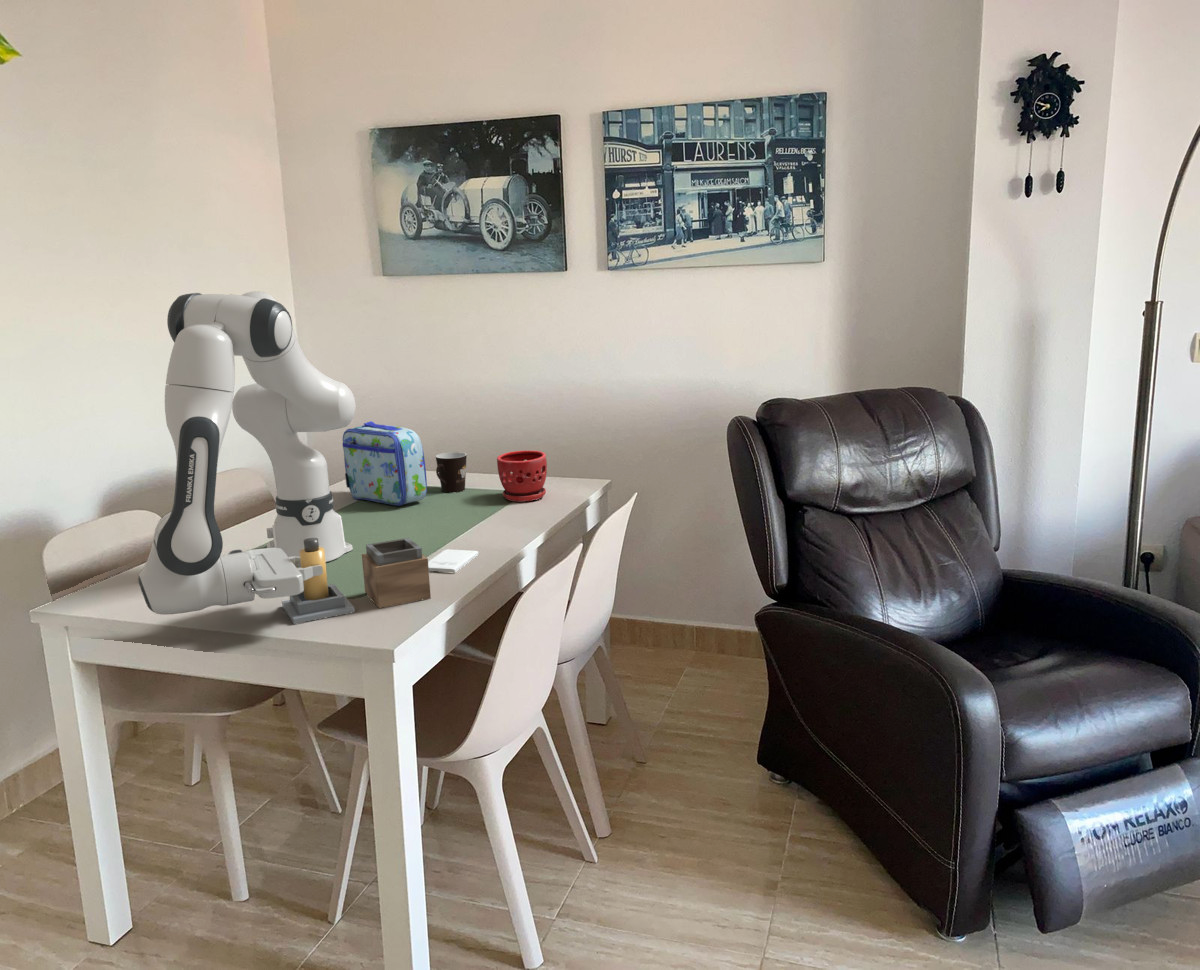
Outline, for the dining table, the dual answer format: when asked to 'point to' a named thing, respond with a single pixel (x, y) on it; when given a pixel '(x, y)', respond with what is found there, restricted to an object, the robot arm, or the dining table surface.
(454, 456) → the coffee mug
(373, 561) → the walnut stand
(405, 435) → the lunch box
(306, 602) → the low socket
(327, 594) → the yellow bottle
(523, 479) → the plant pot
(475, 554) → the external hard drive
